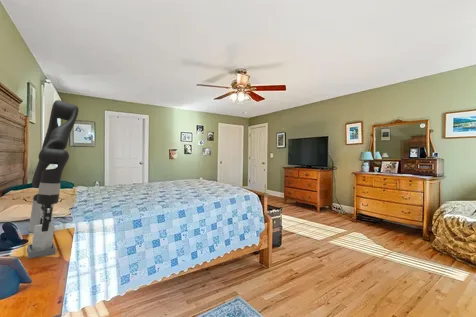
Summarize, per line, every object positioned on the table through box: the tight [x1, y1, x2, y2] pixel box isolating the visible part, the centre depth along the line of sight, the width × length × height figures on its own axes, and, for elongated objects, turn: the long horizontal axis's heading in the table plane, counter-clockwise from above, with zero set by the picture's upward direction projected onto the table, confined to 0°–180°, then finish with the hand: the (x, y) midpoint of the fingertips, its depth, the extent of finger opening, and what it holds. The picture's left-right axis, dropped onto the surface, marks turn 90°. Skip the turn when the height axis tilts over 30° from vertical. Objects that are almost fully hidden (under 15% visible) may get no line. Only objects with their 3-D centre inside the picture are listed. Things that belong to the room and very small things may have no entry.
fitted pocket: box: [26, 241, 57, 259], centre depth 101 cm, size 10×9×2 cm
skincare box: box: [31, 224, 55, 252], centre depth 101 cm, size 6×4×12 cm
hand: (43, 228), depth 101 cm, fingers open, 8 cm apart
